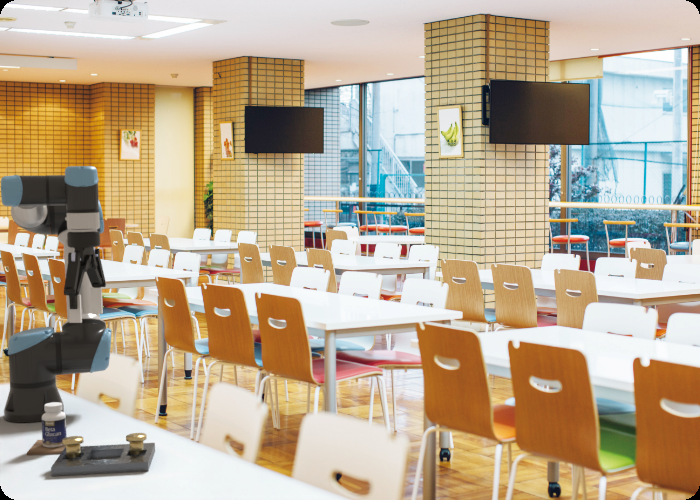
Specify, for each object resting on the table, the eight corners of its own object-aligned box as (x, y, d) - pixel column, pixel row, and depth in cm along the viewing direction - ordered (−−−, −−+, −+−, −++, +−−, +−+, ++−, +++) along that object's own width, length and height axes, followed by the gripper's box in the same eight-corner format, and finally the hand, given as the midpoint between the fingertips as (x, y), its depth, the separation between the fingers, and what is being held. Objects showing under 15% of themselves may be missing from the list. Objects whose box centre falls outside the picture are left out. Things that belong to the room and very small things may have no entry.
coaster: (37, 442, 202) (37, 439, 201) (80, 440, 203) (80, 437, 203) (26, 455, 192) (26, 452, 192) (72, 452, 193) (71, 450, 193)
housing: (65, 455, 191) (65, 447, 191) (155, 451, 193) (154, 442, 193) (51, 476, 177) (51, 467, 177) (148, 471, 179) (147, 461, 179)
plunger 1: (65, 453, 186) (64, 436, 186) (85, 452, 186) (85, 435, 186) (61, 459, 182) (60, 442, 181) (81, 458, 182) (81, 441, 182)
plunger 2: (128, 450, 188) (127, 433, 187) (148, 449, 188) (147, 432, 188) (125, 456, 183) (124, 439, 183) (145, 455, 184) (145, 438, 184)
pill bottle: (43, 449, 194) (41, 408, 193) (41, 443, 199) (40, 402, 198) (67, 446, 196) (66, 405, 195) (65, 440, 201) (64, 400, 200)
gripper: (87, 227, 214) (90, 310, 215) (46, 233, 189) (49, 326, 191) (116, 227, 213) (119, 310, 215) (78, 233, 188) (82, 326, 190)
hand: (86, 318), depth 203 cm, fingers open, 13 cm apart
